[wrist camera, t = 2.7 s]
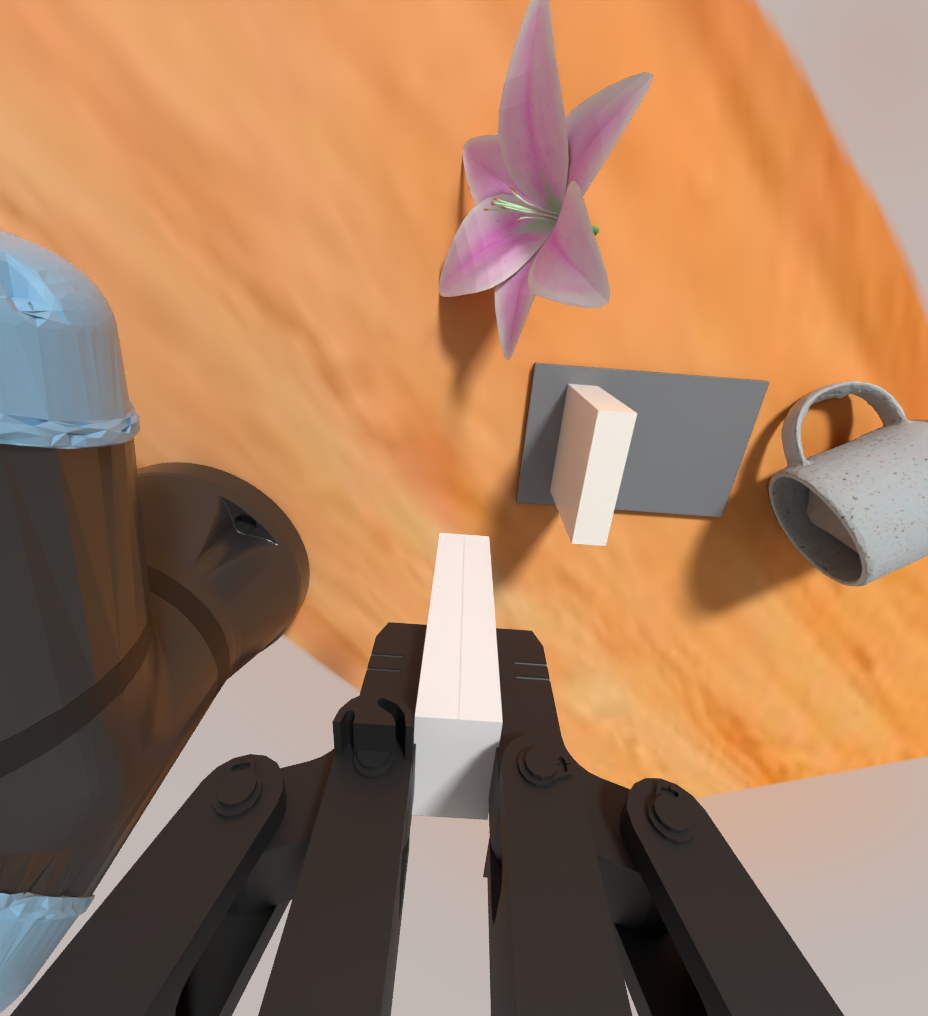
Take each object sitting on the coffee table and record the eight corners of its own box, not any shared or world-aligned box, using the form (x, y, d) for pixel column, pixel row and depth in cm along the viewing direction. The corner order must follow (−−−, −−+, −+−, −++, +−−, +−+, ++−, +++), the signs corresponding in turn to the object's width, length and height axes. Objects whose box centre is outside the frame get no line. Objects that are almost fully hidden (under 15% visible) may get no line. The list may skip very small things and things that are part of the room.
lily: (555, 19, 21) (447, -110, 14) (757, 163, 20) (754, 102, 12) (445, 264, 29) (338, 263, 22) (585, 380, 27) (520, 422, 20)
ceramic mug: (908, 493, 30) (1039, 550, 23) (783, 547, 32) (870, 614, 25) (877, 349, 26) (1023, 364, 19) (739, 419, 28) (826, 456, 21)
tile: (549, 491, 30) (571, 543, 24) (568, 383, 27) (598, 410, 21) (576, 493, 30) (605, 545, 24) (597, 386, 27) (637, 413, 21)
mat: (516, 500, 31) (516, 502, 30) (534, 362, 27) (535, 363, 26) (718, 514, 31) (721, 517, 31) (765, 380, 27) (769, 381, 27)
